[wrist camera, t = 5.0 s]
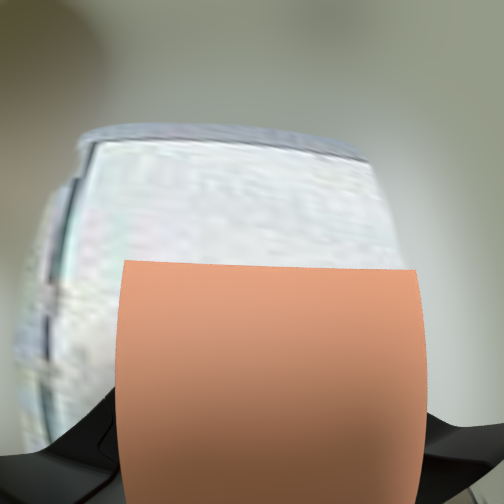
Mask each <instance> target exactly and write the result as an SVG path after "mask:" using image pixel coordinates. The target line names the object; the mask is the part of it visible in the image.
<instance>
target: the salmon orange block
mask: <svg viewBox="0 0 504 504" xmlns="http://www.w3.org/2000/svg"><path fill="white" fill-rule="evenodd" d="M115 402H116V424H117V438H118V449H119V458H120V466H121V473H122V480H123V486H124V492H125V497H126V503H127V504H415V500H416V496H417V491H418V486H419V480H420V474H421V468H422V461H423V454H424V445H425V434H426V419H427V358H426V342H425V331H424V321H423V313H422V306H421V298H420V291H419V285H418V280H417V274H416V270H382V269H335V268H299V267H267V266H240V265H215V264H192V263H170V262H150V261H131V260H125V261H124V268H123V275H122V282H121V291H120V300H119V310H118V322H117V337H116V360H115Z"/></svg>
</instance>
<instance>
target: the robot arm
mask: <svg viewBox="0 0 504 504" xmlns="http://www.w3.org/2000/svg"><path fill="white" fill-rule="evenodd" d="M0 504H127V503H126V497H125V492H124V486H123V480H122V473H121V466H120V458H119V449H118V438H117V424H116V402H115V387H114V388H113V389H112V390H111V391H110V392H109V393H108V394H107V395H106V396H105V398H103V399H102V400H101V401H100V402H99V403H98V404H97V405H96V406H95V407H94V408H93V409H92V410H91V411H90V412H89V413H88V414H87V415H86V416H85V417H84V418H83V419H82V420H80V421H79V422H78V423H77V424H76V425H75V426H73V427H72V428H71V429H70V430H68V431H67V432H66V433H65V434H63V435H62V436H61V437H60V438H58V439H57V440H56V441H55V442H53V443H52V444H51V445H49V446H48V447H46V448H44V449H43V450H40V451H38V452H34V453H28V454H19V455H8V456H0ZM415 504H504V423H501V424H493V425H484V426H475V427H474V426H473V427H457V426H453V425H450V424H448V423H446V422H444V421H442V420H440V419H438V418H436V417H435V416H433V415H431V414H429V413H428V412H427V419H426V434H425V445H424V454H423V461H422V468H421V474H420V480H419V486H418V491H417V496H416V500H415Z"/></svg>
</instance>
